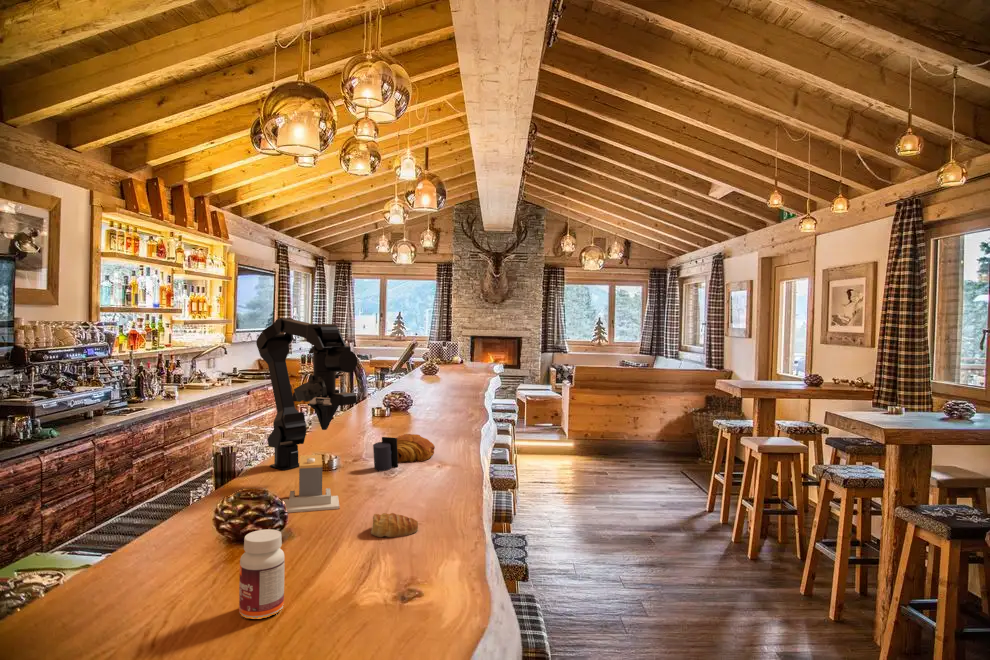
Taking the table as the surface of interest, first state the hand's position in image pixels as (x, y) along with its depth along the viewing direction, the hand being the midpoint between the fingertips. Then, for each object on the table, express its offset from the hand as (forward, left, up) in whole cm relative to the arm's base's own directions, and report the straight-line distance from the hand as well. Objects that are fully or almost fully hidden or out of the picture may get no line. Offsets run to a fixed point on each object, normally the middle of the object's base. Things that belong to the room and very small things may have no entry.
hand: (324, 429), depth 157 cm
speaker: (+6, +17, -13) cm, 22 cm away
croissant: (+3, +32, -14) cm, 35 cm away
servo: (+11, -14, -13) cm, 22 cm away
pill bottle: (+47, -53, -13) cm, 72 cm away
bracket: (+15, -17, -13) cm, 26 cm away
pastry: (+40, -18, -14) cm, 46 cm away
